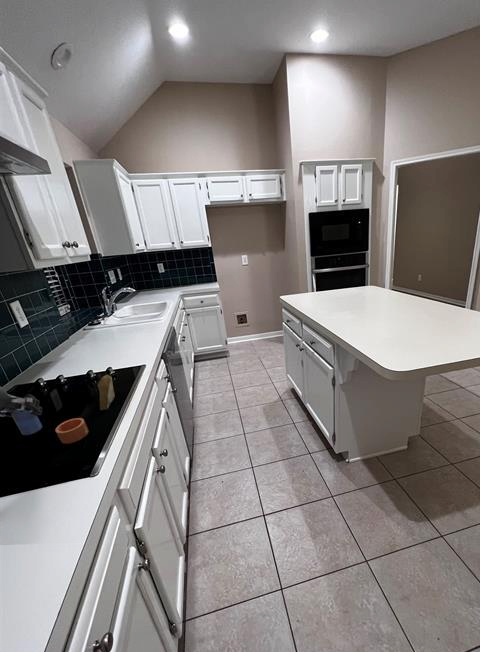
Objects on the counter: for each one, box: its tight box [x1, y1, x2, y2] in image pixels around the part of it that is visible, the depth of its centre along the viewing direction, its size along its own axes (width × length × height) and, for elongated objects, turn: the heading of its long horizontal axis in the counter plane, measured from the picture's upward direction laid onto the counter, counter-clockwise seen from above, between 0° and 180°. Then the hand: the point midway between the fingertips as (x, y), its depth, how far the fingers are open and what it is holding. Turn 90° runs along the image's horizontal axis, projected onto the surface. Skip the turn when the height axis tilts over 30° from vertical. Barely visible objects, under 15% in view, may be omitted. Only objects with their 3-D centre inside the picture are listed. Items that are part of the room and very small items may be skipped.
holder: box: [55, 417, 89, 445], centre depth 95 cm, size 7×7×4 cm
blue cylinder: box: [10, 407, 43, 436], centre depth 80 cm, size 4×4×8 cm
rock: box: [97, 374, 116, 411], centre depth 111 cm, size 11×9×10 cm
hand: (29, 412), depth 82 cm, fingers closed on blue cylinder, 4 cm apart
